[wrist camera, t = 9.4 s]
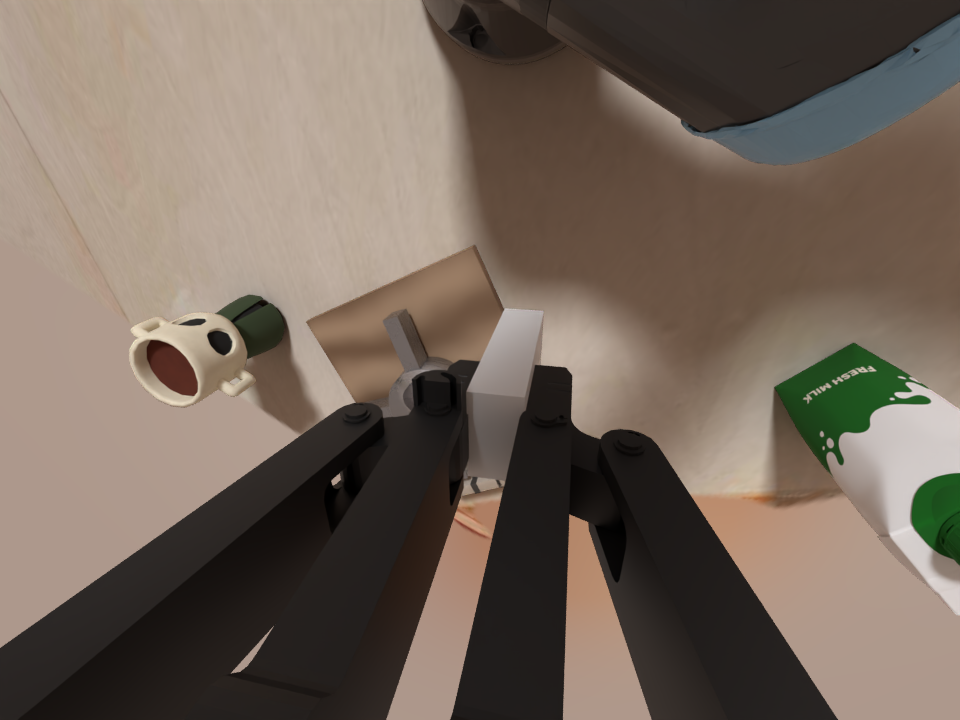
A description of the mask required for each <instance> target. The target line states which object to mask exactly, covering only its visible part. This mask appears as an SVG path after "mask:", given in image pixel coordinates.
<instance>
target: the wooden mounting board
mask: <svg viewBox="0 0 960 720" xmlns="http://www.w3.org/2000/svg"><path fill="white" fill-rule="evenodd" d="M402 309H407V311H408V313H409V316H410V318H411V321H412V323H413V325H414V328H415V330H416V332H417V335H418V337H419V340H420V342H421V344H422V347H423V349H424V351H425V354H426V356H427V357H430V356H433V357H440V358H444V359H447V360H449V361H451V362H453V363H455V362H457V361H458V360H471V361H481V359H482V357H483V354H484V352H485V350H486V348H487V346H488V344H489V342H490V339H491V337H492V335H493V333H494V331H495V329H496V326H497V324H498V322H499V320H500V318H501V316H502V314H503V311H504V308H503V306H502V304H501V301H500V299H499V297H498V295H497V293H496V290H495V288H494V286H493V284H492V281H491V279H490V277H489V275H488V273H487V270H486V268H485V266H484V264H483V261H482V259H481V257H480V255H479V253H478V250H477V248H476V246H475V245H473V246H471V247H469V248H467V249H464V250H462V251H460V252H458V253H456V254H453V255H451V256H449V257H447V258H444V259H442V260H440V261H438V262H436V263H433V264H431V265H429V266H427V267H424V268H422V269H420V270H418V271H415V272H413V273H411V274H409V275H407V276H404V277H402V278H400V279H398V280H395V281H393V282H391V283H389V284H387V285H384V286H382V287H380V288H378V289H375V290H373V291H371V292H369V293H367V294H364V295H362V296H360V297H358V298H355V299H353V300H351V301H349V302H347V303H344V304H342V305H340V306H338V307H335V308H333V309H331V310H329V311H327V312H324V313H322V314H320V315H318V316H315V317H313V318H311V319H310V320H308V321H307V322H306V323H307V324H308V326H309V327H310V329H311V331H312V332H313V334H314V336H315V337H316V339H317V340H318V342H319V344H320V345H321V347H322V348H323V350H324V352H325V353H326V355H327V357H328V358H329V360H330V361H331V363H332V365H333V366H334V368H335V370H336V371H337V373H338V374H339V376H340V378H341V379H342V381H343V382H344V384H345V386H346V387H347V389H348V391H349V392H350V394H351V395H352V397H353V399H354V400H355V402H356V403H358V402H359V403H360V402H368V401H372V400H377V399H381V398H385V397H389V392H390V389H391V387H392V385H393V384H394V383H395V381H396V380H397V379H398V378H399V376H400V375H401V374H402V372H403V371H404V368H403V366H402V364H401V361H400V359H399V357H398V355H397V353H396V350H395V348H394V346H393V344H392V341H391V339H390V337H389V335H388V332H387V330H386V328H385V326H384V324H383V320H384V319H385V318H386V317H388V316H389V315H390V314H391V313H392V312H395V311H399V310H402ZM504 485H505V481H502V480H495V479H487V478H480V477H473V476H468V478H467V479H464V489H463V492H462V495H461V496H464V495H468V494H473V493H475V494H476V493H480V492H482V491H486V490H490V489H495V488H501V487H504Z"/></svg>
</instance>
